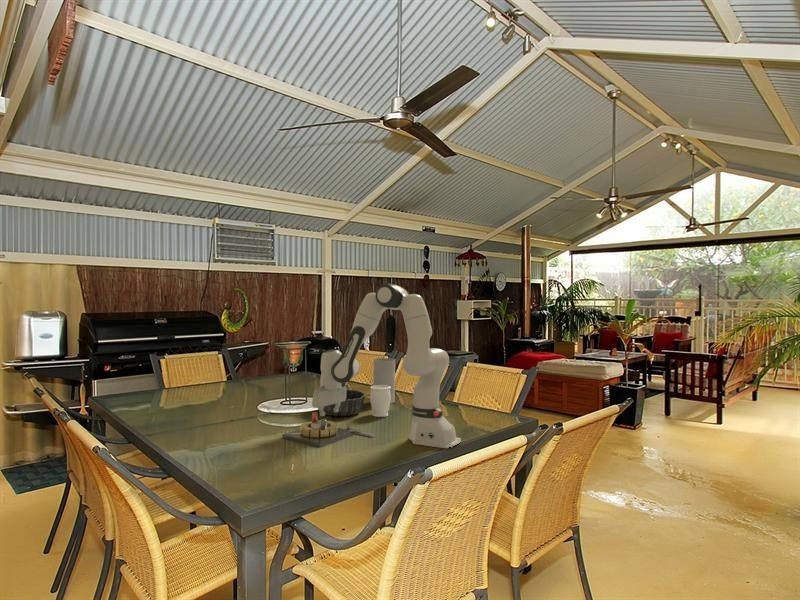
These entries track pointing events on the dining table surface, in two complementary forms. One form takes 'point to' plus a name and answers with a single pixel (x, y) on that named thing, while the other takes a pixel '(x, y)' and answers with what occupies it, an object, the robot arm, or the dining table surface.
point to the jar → (380, 400)
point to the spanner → (360, 432)
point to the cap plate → (314, 440)
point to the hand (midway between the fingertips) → (329, 414)
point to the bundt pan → (347, 404)
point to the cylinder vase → (385, 374)
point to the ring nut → (318, 432)
